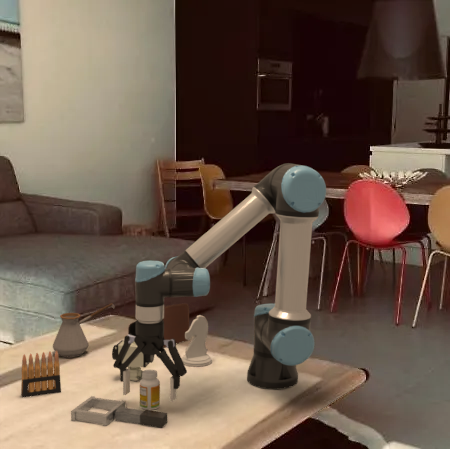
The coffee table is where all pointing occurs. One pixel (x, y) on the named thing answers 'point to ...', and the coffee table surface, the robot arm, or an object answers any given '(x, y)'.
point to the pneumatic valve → (138, 362)
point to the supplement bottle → (149, 390)
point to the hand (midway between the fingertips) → (149, 396)
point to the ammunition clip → (40, 376)
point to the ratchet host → (116, 413)
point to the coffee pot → (73, 334)
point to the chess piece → (197, 344)
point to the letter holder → (172, 322)
